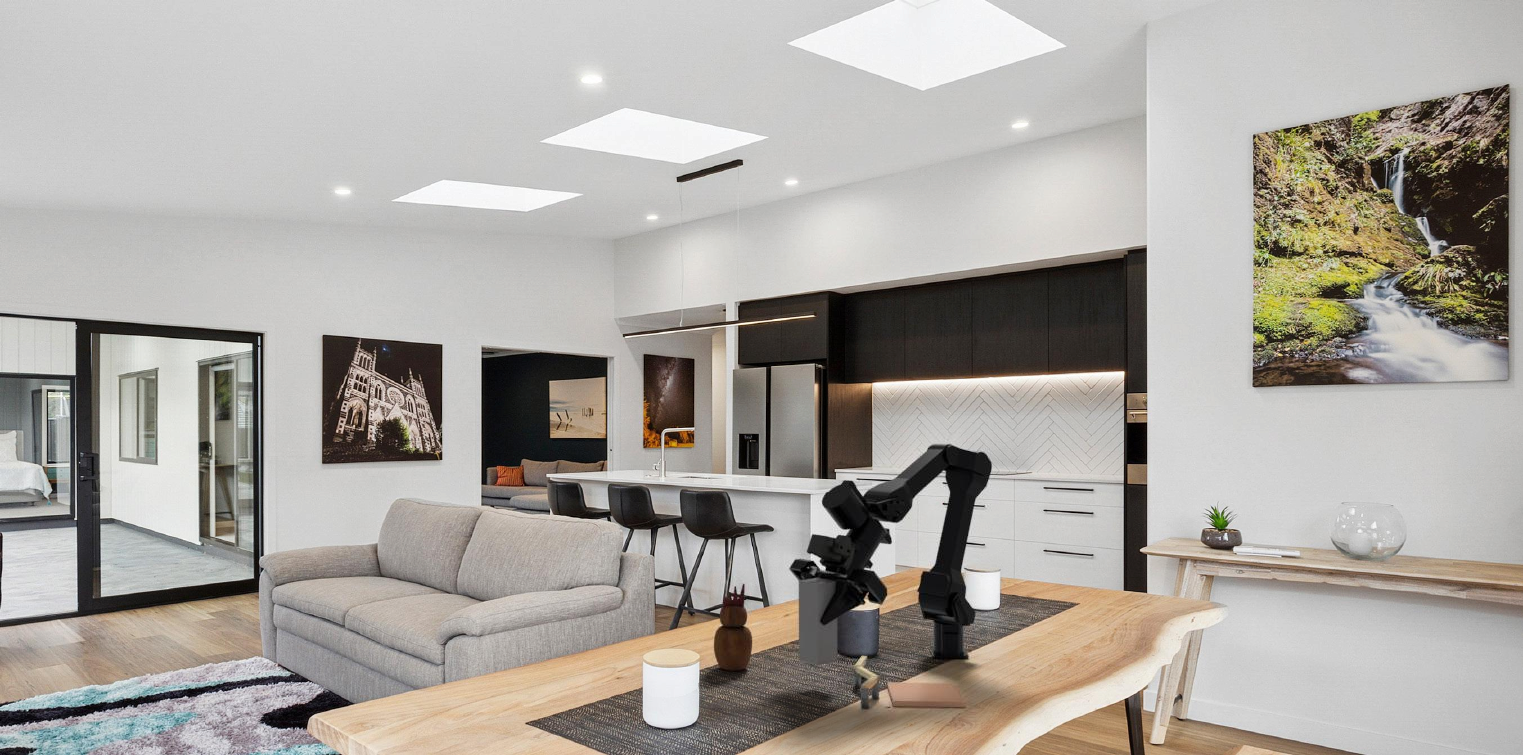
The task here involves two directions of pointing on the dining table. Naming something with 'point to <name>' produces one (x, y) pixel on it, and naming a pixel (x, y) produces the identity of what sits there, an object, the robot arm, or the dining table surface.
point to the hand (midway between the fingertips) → (811, 621)
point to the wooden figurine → (733, 634)
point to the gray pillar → (816, 622)
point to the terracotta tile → (925, 694)
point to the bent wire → (871, 683)
